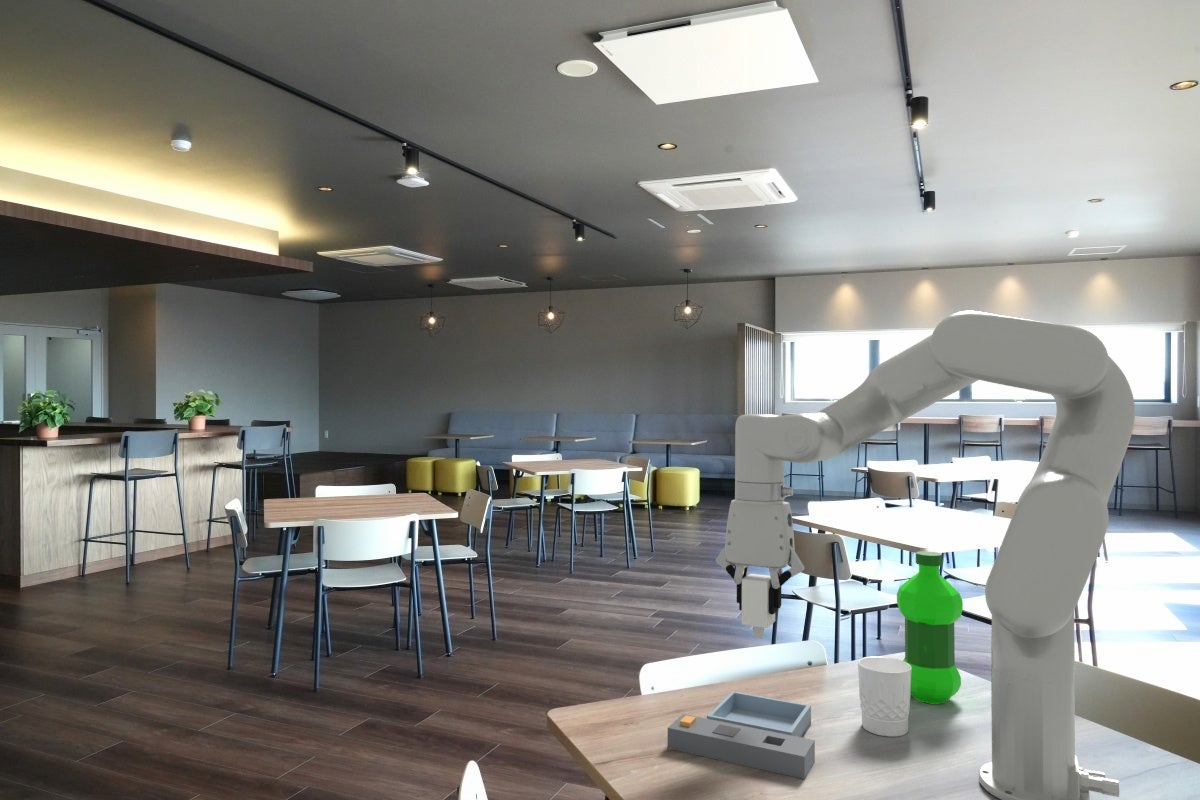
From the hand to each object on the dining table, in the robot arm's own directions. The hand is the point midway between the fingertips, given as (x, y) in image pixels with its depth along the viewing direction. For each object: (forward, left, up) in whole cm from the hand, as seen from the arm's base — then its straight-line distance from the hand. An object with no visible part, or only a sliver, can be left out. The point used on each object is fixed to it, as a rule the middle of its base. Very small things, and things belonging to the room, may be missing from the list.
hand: (758, 609), depth 120 cm
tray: (0, 0, -19) cm, 19 cm away
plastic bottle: (-22, -27, -19) cm, 40 cm away
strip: (0, +10, -19) cm, 21 cm away
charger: (0, 0, -4) cm, 4 cm away
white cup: (-17, -10, -19) cm, 27 cm away
